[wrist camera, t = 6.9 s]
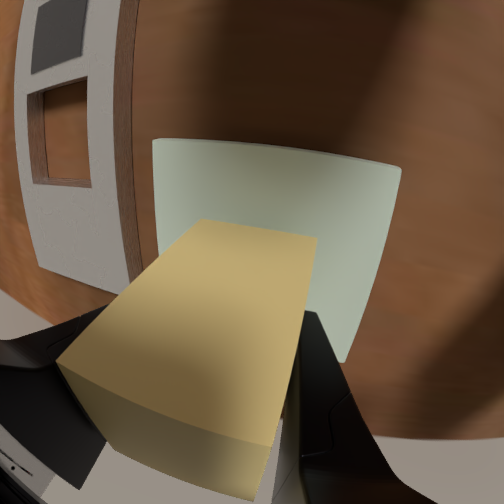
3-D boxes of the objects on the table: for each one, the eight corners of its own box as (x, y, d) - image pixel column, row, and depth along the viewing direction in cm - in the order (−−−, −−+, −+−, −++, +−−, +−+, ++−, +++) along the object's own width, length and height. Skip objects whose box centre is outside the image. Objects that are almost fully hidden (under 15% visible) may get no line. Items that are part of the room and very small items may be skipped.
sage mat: (398, 166, 9) (401, 170, 9) (344, 354, 13) (344, 363, 13) (160, 138, 11) (152, 140, 10) (172, 315, 15) (167, 322, 15)
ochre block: (317, 237, 9) (272, 447, 3) (299, 329, 11) (253, 501, 5) (201, 218, 10) (55, 360, 4) (203, 308, 12) (114, 449, 6)
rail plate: (158, -90, 5) (144, -100, 4) (145, 286, 15) (131, 300, 14) (49, -38, 7) (34, -40, 6) (51, 257, 16) (38, 266, 15)
